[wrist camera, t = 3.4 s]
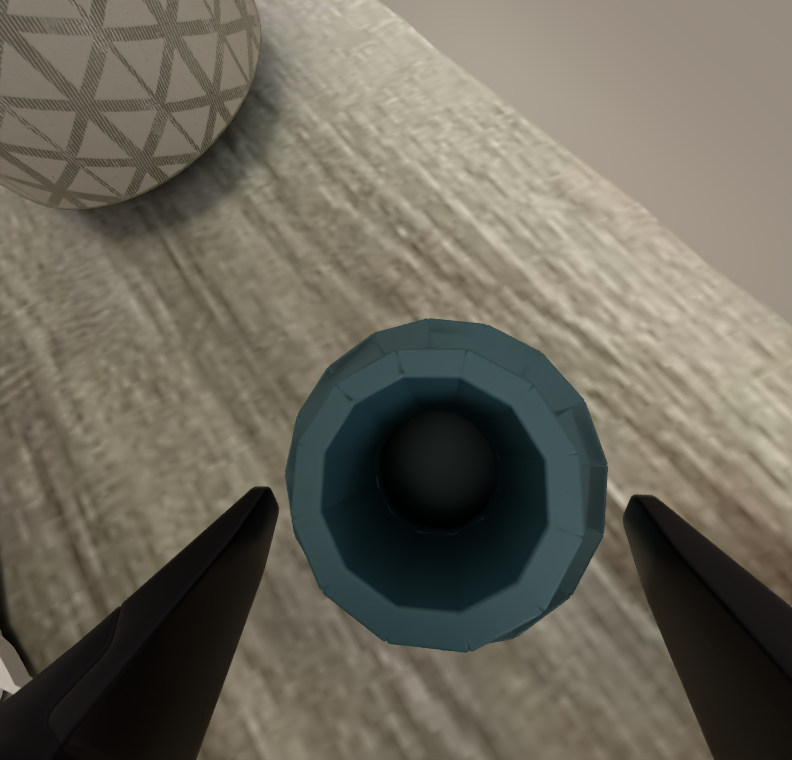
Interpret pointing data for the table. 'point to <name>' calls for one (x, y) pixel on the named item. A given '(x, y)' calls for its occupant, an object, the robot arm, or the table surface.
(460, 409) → the teal faceted vase
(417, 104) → the table surface
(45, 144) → the planter
